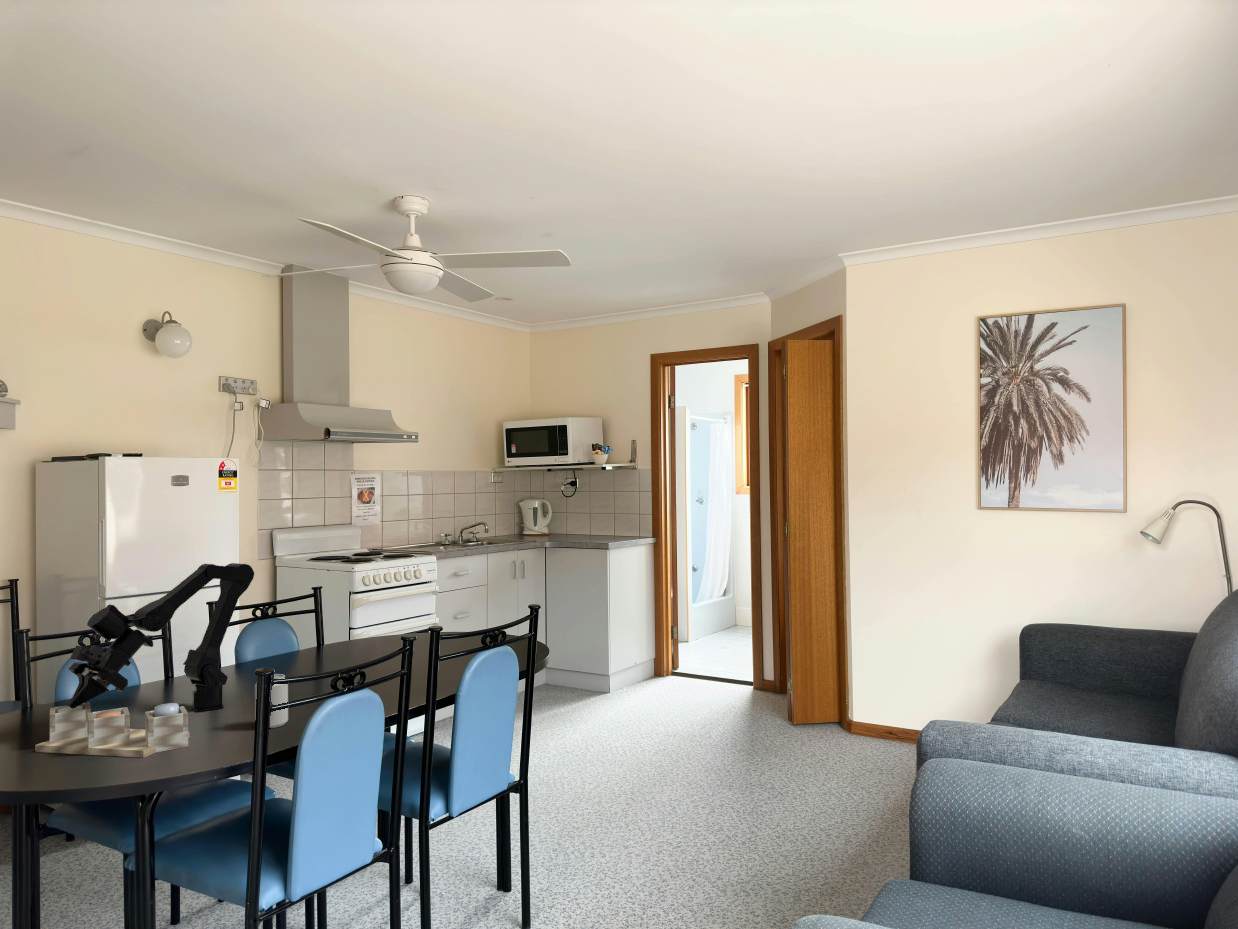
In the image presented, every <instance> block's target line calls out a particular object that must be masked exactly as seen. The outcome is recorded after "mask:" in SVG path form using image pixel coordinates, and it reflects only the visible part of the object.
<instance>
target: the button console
mask: <svg viewBox="0 0 1238 929" xmlns="http://www.w3.org/2000/svg"><path fill="white" fill-rule="evenodd" d="M68 705H69V704H68ZM68 705H61V706H55V707H54V706H53V707H50V708H49V739H48V740H46V741H44V742H40V743H37V744H35V747H34V751H35V753H49V754H69V755H89V756H103V757H104V756H108V757H123V758H124V757H127V758H140V759H141V758H142V759H143V758H146V757H149V756H151V755H153V754H155V753H161V752H165V751H170V750H176V749H183V748H188V747H189V739H190V732H191V731H189V713H188V710H187V709H186V708H185V705H184V706H183V705H181V706H179V714H173V715H167V716H160V717H154V710H147V711H145V712H144V716H145V717H144V718H145V719H144V721H145V724H144V726H145V728H144V729H142V728H141V729H139V728H130V726H131V724H130V723H131V722H130V721H131V716H130V715H131V713H130V712H129V709H128V706H127V707H119V708H111V709H105V710H104V709H103V710H99V711H92V709H91V702H89V701H88V702H85V703H83V704H81V705H79V706H82V707H83V710H76V711H69V712H62V713H58V709H61V708H64V707H69V706H68ZM107 711H121V715H116V716H109V717H102V718H96V715H97V714H99V713H102V712H107Z"/></svg>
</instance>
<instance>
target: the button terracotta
mask: <svg viewBox="0 0 1238 929" xmlns="http://www.w3.org/2000/svg"><path fill="white" fill-rule="evenodd" d="M116 715H121V711H107V712H102V713H99V714H97V715H96V718H102V717H109V716H116Z"/></svg>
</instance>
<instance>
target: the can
mask: <svg viewBox="0 0 1238 929" xmlns="http://www.w3.org/2000/svg"><path fill="white" fill-rule="evenodd" d="M273 674H274V679H286V678H285V677H286V675H285V674H283V673H281V674H280V673H273ZM256 699H257V682H255V684H254V721H255V720H256ZM271 702H272V704H273V705H278V704H282V703H287V702H288V703H289V683H288V684H274V685H273V686H272V690H271ZM288 721H289V707H288V708H285V709H281V710H276V711H273V712H271V716H270V728H271V729H277V728H279V727H282V726H284V725H285V724H286V723H287V722H288Z"/></svg>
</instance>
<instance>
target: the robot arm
mask: <svg viewBox="0 0 1238 929" xmlns="http://www.w3.org/2000/svg"><path fill="white" fill-rule="evenodd" d="M254 577H255V571H254V568H253V567H252V566H251V565H250V564H246V563H237V562H236V563H235V562H234V563H233V562H231V563H228V564H227V565H217V564H213V563H203V564H201V565H199V566H198V568H197V569H196V570H194V571H193V572H191V574H190V575H189V576H187V577H186V578H185V579H184V580H182V581H181V582H179V583H178V584H177V585H176V586H175V587H174V588H172V589H171V590H170V591H168V592H167V593H166V594H165V595H164V596H161V597H160V598H159V599H156V600H153V601H151V602H148V603H147V604H145V605H143V606H142V607H139V608H138V609H137V610H136V611H135V612H134V613H132V614H131V613H130V614H127V615H125V614H124V613H123V612H121V611H120V610H119V609H118V608H117V607H116V606H115V605H114V604H110V603H109V604H108V605H107V606H105V607H104V608H102V609H100V610H98V611H97V612H96V613H94V614H93V615H92V616H91V617H90V618H89V620H88V621H87V623H86V625H87V627H89V628H90V629H91V630H92V631H94V633H96V634H97V635H99V636H100V637H101V638H103V639H104V640H105V641H109V640H113V642H111V643H110V645H109V646H108V647H105V646H103V647H102V646H99V645H96V644H95V645H94V644H93V645H91V646H90V647H87V646H86V647H85V646H82V645H75V647H74V649H73V651H72V653H71V655H70V659H71V660H76V662H73V663H72V664H70V666H69V667H68V671H69V672H71V673H72V674H74V675H75V676H77V678H78V685H77V687H76V689H75V691H74V693H73V695H72V697H71V699H70V701H69V703H68V706H69V707H70V708H75V707H77V706H79V705H81V704H83V703H87V702H89V701H91V700H92V699H94V698H96V697H98V696H101V695H102V694H104V693H106V692H107V693H108V692H109V691H110V690H109V686H110V685H111V686H112V687H114V690H115V691H117V692H119V693H123V692H124V691H125V690H126V689H127V687H128V686H129V679H127V678H126V677H125V676H123V675H122V674H121V673H120V671H121V670H122V669H123V668H124V667H125V666H126V667H129V666H130V665H131V663H132V662H131V661H130V660H131V659H132V658H133V657H134V655H136V654H137V652H138V651H139V650H140V649H141V648H142V646H144V647H150V648H152V647H154V641H153V638H154V636H153V635H149V634H148V635H146V634H144V633H143V632H144V631H146V632H154V633H155V632H159V631H161V630H163V629H164V628H165V626H166V625H167V624H168V623H169V622H170V621H171V619H172V618H173V617H174V615H175V613H176V611H177V610H178V609H179V608H180V607H181V606H182V605H183V604H184V603H186V602H187V601H188V600H189V599H191V598H192V597H193V596H194V595H196V594H197V593H198V592H199V591H200V590H202V589H203V588H204V587H205V586H206V585H207V584H209V583H210V582H211V581H213V580H219V588H220V589H219V590H220V592H219V593H220V594H219V596H218V599H217V601H216V604H215V607H214V609H213V612H212V614H211V617H210V619H209V622H208V625H207V627H206V629H205V632H204V634H203V637H202V640H201V643H200V644H199V646H198V647H197V648H196V649H189V650H188V652H187V657H186V659H185V661H184V662H183V663H182V665H184V669H183V672H184V674H185V676H186V677H187V678H188V679H189V681H190V683H191V685H194V690H193V691H192V708H193V710H195V711H196V712H197V713H198V712H205V711H212V710H217V709H223V708H225V706H224V702H223V701H224V700H223V686H225V685H227V681H228V678H229V677H228V676H227V675H226V674H225V673H224V672H223V671H222V670H220V669H219V668H220V666H221V665H220V664H221V653H220V652H221V650H220V649H221V646H222V644H223V640H224V638H225V635H226V633H227V631H228V628H229V625H230V623H231V619H232V617H233V614H234V612H235V609H236V607H237V604H238V601H239V599H240V598H241V596H243V594H244V593H245V592H246V591H247V590H248V589H249V586H250V585H251V583H252V582H253V580H254ZM130 626H132V627H135V628H136V629H133V628H131V627H130Z"/></svg>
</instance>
